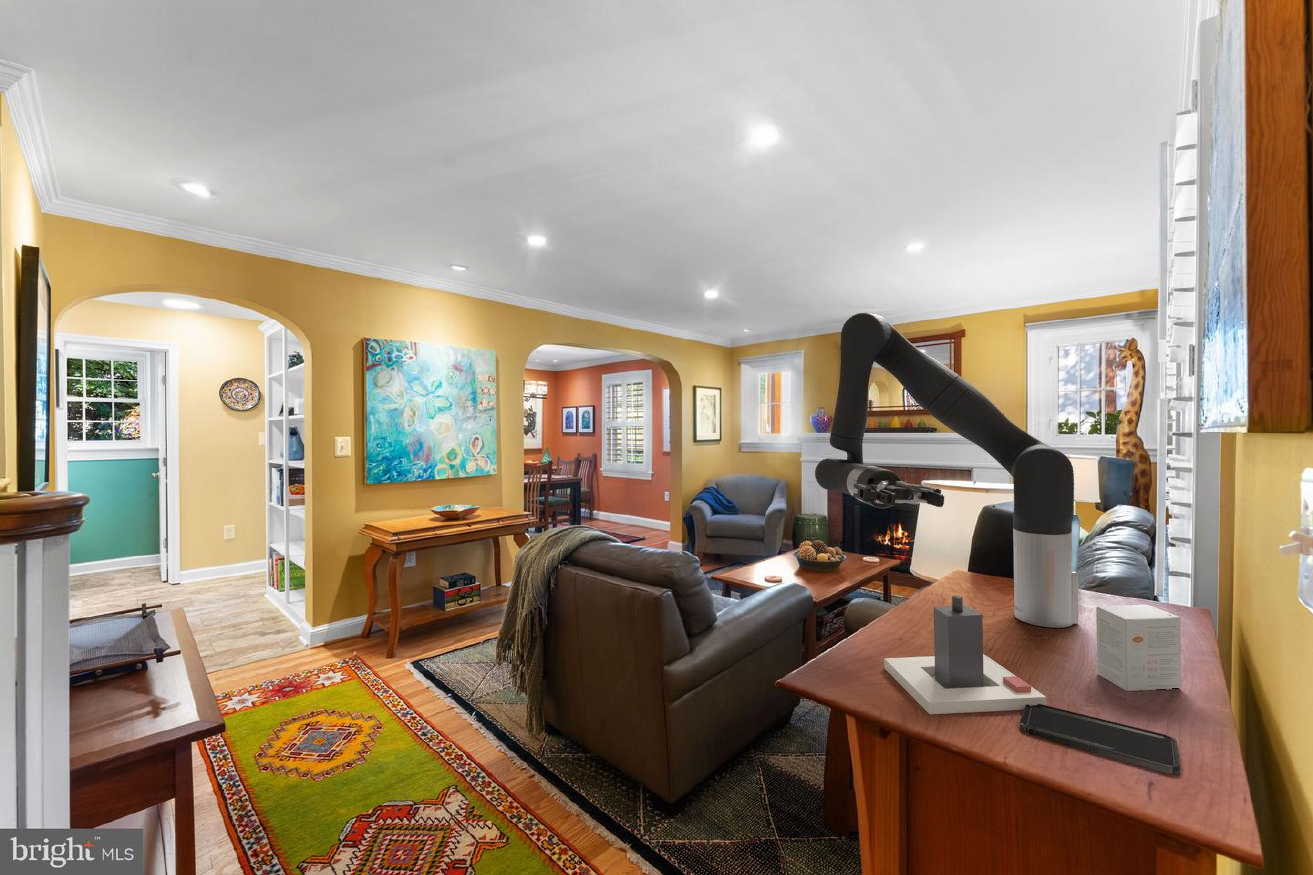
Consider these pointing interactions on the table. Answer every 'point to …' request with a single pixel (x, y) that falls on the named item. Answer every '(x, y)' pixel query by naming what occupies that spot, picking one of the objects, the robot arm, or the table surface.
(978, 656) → the plug
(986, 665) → the socket plate
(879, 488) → the robot arm
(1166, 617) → the small box
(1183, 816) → the table surface
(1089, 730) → the phone
